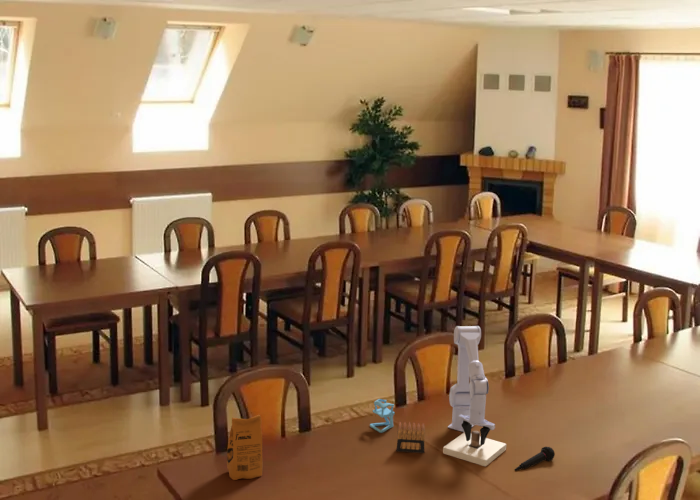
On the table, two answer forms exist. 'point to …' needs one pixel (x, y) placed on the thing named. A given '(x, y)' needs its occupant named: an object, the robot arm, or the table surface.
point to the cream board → (474, 450)
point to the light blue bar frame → (383, 415)
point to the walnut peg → (475, 439)
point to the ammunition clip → (411, 438)
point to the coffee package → (245, 448)
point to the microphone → (538, 458)
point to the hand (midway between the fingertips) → (475, 442)
